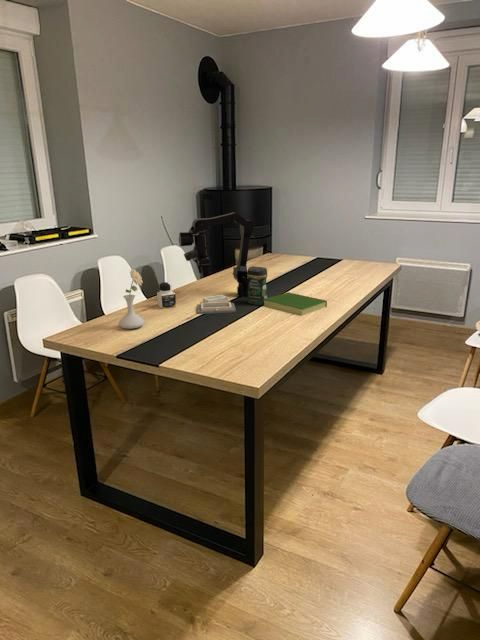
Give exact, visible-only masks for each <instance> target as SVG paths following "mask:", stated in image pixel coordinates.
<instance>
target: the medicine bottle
mask: <svg viewBox="0 0 480 640" xmlns="http://www.w3.org/2000/svg"><path fill="white" fill-rule="evenodd" d="M156 296H157V306H158V307H159V308H160V309H162V310H167V309H173V308H177V297H176V293H175V292H173V284H172V283H171V282H169V281H166V282H161V283H159V291H157V293H156Z"/></svg>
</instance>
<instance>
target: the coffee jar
mask: <svg viewBox="0 0 480 640" xmlns="http://www.w3.org/2000/svg"><path fill="white" fill-rule="evenodd" d="M247 271H248V273H247V276H248V280H249V288H248V297H247V303H248V304H250V305H254V306H264V300H263V299H267V298H268V293H267V292H268V291H267V280H268V279H267V278H268V269H267V267H262V266H256V265H255V266H253V265H252V266H249V267H248V268H247Z"/></svg>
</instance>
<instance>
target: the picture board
mask: <svg viewBox="0 0 480 640" xmlns="http://www.w3.org/2000/svg"><path fill="white" fill-rule="evenodd" d="M196 306H197V315H204V314H205V315H206V314H208V315H209V314H227V313H237V311H236V310H237V309H236V306H235V303H234V302H231V301H228V302H211V303H203V302H200V304H197V305H196Z"/></svg>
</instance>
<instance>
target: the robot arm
mask: <svg viewBox="0 0 480 640" xmlns="http://www.w3.org/2000/svg"><path fill="white" fill-rule="evenodd" d="M230 222H234V223H235V224H237V225H238V226H239V233H240V237H241V238H240V244H239V253H238V259H237V260H238V261H237V265H236V266H233V270H232V271H233V272H232V276H233V278H234V280H235V281H236V282H237V287H236V291H237V292H236V294H237V296H238V298H246V297H247V298H248V288H249V280H248V276H247V273H248V268H247V264H248V255H249V247H250V243H251V242H250V241H251V237H252V236H253V234H254V231H255V223H254V221H252V220H249V219H246V218H244V217H243V216H241V215H239V214H238V212H233V211H232V212H230V213H226V214H223V215H218V216H214V217H210V218H209V217H206V218H205V217H203V218H201V217H200V218H195V219H194V220H193V221H192V223H191V225H192V226H191V227H190V228H189V230H188V231H186V232H182V231H180V232H178V233H179V235H178V245H179V246H180V247H189V246H193V245H194V246H193V249H192V250H189V251H188V252H185V253H183V256H184V259H185V261H186V262H190V261H191V260H192V261H193V262H195V264H196V267H197V270H198V273H199V274H202V277H203V278H206V276H207V273H208V271H209V269H210V266H211V265H212V259H211V258H210V257H209V256H208V254H207V250H208V246H207V240H206V238H207V236H209V235H210V233H209V232H208V231H207V230H208V229H210V228H212V227H215V226H219V225H222V224H223V225H224V224H227V223H230Z"/></svg>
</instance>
